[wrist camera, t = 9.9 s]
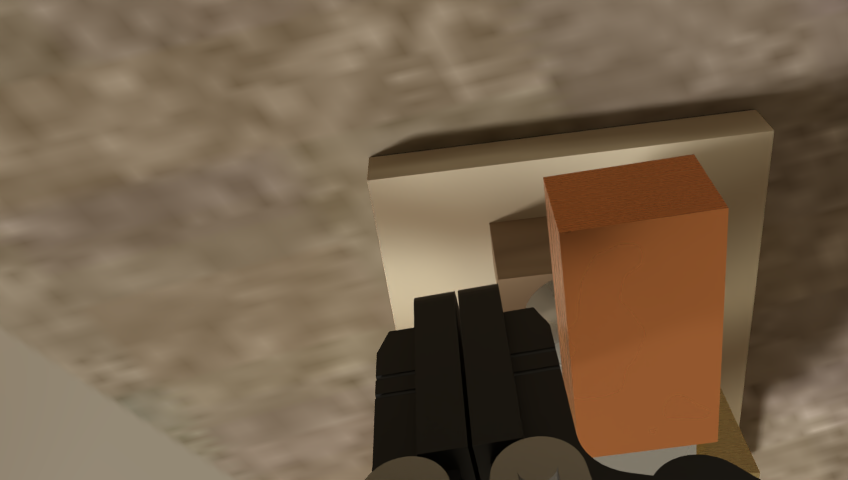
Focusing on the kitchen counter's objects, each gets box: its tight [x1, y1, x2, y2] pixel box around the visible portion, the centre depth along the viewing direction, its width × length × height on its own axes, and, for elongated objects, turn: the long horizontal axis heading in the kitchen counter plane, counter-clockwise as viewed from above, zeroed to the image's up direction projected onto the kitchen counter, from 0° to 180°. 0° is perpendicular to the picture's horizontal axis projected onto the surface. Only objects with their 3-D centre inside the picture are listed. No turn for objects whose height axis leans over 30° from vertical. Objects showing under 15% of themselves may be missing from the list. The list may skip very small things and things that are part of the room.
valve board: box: [367, 110, 774, 426], centre depth 28 cm, size 16×12×4 cm
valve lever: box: [543, 154, 729, 475], centre depth 17 cm, size 3×14×2 cm, turn 9°
